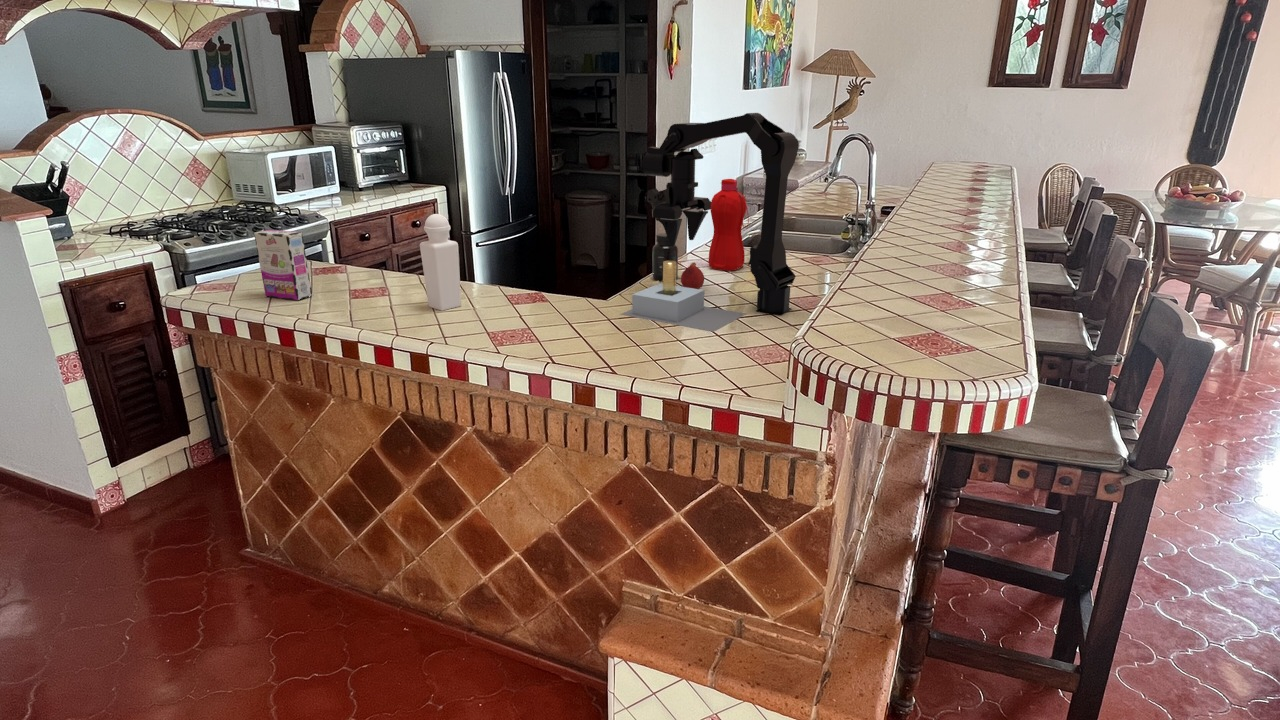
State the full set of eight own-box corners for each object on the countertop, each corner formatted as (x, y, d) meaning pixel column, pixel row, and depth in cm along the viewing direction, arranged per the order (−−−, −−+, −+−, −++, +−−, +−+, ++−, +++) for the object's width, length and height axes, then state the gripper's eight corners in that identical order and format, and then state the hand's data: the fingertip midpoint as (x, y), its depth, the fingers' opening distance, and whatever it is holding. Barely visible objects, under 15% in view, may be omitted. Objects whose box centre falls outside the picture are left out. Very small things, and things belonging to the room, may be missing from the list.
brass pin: (677, 304, 171) (679, 261, 167) (670, 307, 169) (672, 264, 165) (666, 302, 172) (667, 260, 169) (659, 305, 170) (660, 262, 167)
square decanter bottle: (464, 306, 178) (456, 213, 170) (440, 312, 173) (431, 217, 166) (449, 301, 182) (440, 210, 174) (425, 306, 177) (415, 214, 170)
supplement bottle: (647, 279, 201) (647, 235, 197) (661, 274, 207) (661, 231, 203) (668, 282, 198) (669, 238, 194) (682, 277, 203) (683, 234, 199)
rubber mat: (746, 315, 169) (746, 313, 169) (713, 334, 157) (713, 331, 156) (657, 300, 182) (657, 298, 181) (620, 316, 169) (620, 314, 169)
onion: (695, 297, 184) (696, 266, 181) (676, 294, 187) (676, 263, 184) (708, 293, 188) (708, 261, 185) (689, 289, 191) (689, 258, 188)
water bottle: (739, 273, 207) (742, 182, 198) (704, 269, 213) (706, 179, 204) (753, 267, 214) (757, 178, 206) (719, 262, 220) (722, 176, 211)
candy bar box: (313, 296, 187) (303, 231, 181) (298, 301, 182) (287, 235, 177) (280, 292, 191) (269, 228, 185) (264, 297, 186) (252, 232, 181)
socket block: (703, 308, 173) (704, 290, 171) (677, 321, 163) (677, 302, 162) (660, 301, 179) (660, 283, 177) (632, 313, 170) (632, 294, 168)
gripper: (674, 172, 188) (673, 233, 194) (633, 180, 174) (633, 246, 179) (712, 175, 183) (711, 238, 188) (673, 183, 168) (673, 251, 173)
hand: (681, 243), depth 182 cm, fingers open, 9 cm apart
